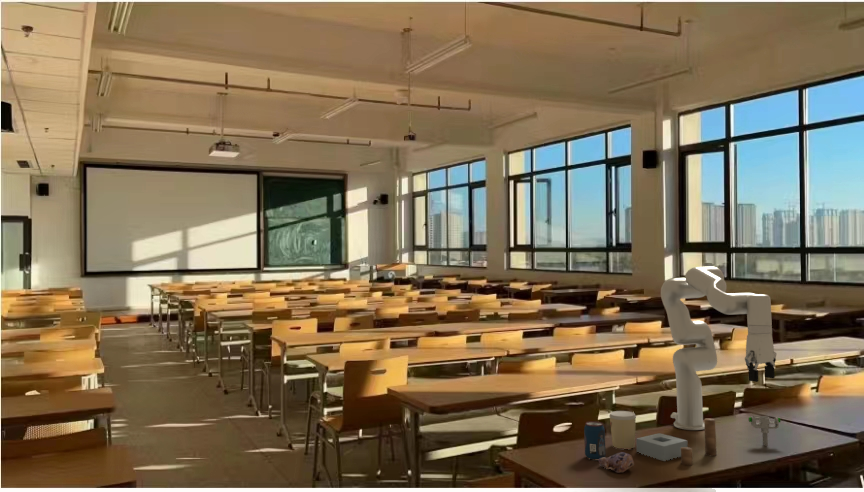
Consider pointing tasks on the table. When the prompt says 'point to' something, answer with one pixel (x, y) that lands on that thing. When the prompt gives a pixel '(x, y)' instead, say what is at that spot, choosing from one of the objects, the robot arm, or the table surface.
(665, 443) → the hole block
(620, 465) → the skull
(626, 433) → the coffee cup
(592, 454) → the soda can
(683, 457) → the short dowel
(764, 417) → the mechanical component
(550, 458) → the table surface
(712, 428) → the long dowel
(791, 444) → the table surface
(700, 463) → the table surface
